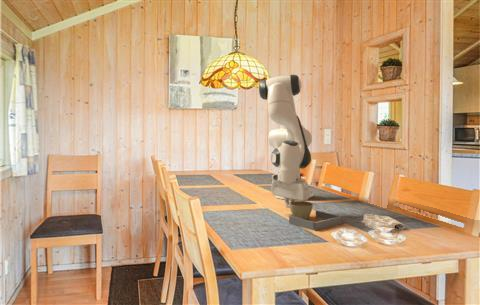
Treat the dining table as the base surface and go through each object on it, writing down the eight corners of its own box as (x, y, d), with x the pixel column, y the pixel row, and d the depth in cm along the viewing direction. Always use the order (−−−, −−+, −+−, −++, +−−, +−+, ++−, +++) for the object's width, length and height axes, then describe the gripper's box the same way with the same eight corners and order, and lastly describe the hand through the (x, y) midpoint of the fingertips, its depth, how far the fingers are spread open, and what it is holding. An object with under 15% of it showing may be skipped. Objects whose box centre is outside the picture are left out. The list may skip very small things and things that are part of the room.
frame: (317, 217, 173) (317, 210, 173) (343, 223, 162) (343, 216, 162) (289, 223, 162) (289, 216, 161) (315, 230, 151) (315, 223, 151)
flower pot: (285, 218, 171) (285, 202, 170) (304, 216, 175) (304, 200, 174) (296, 223, 162) (297, 206, 161) (317, 221, 165) (317, 204, 165)
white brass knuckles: (409, 233, 150) (372, 233, 149) (387, 221, 168) (355, 221, 167) (409, 224, 150) (373, 225, 149) (388, 213, 168) (355, 214, 167)
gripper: (312, 179, 166) (311, 211, 167) (279, 174, 182) (278, 203, 183) (302, 180, 162) (301, 213, 163) (269, 175, 178) (268, 204, 179)
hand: (289, 207), depth 173 cm, fingers closed
